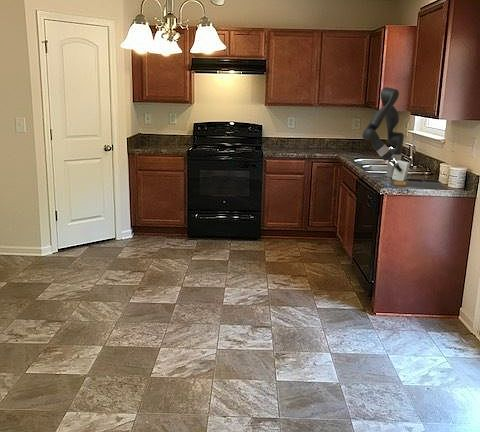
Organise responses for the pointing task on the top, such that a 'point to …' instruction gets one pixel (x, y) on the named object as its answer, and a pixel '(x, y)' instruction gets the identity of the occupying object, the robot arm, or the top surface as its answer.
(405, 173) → the small box
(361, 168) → the top surface
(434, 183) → the rack
